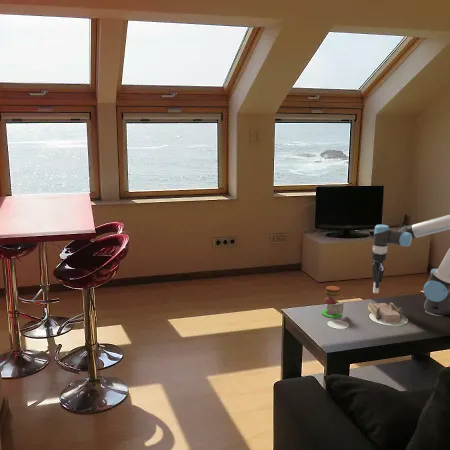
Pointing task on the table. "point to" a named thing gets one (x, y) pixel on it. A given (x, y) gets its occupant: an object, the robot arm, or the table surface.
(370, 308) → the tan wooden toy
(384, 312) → the brick
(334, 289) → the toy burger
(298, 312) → the table surface
